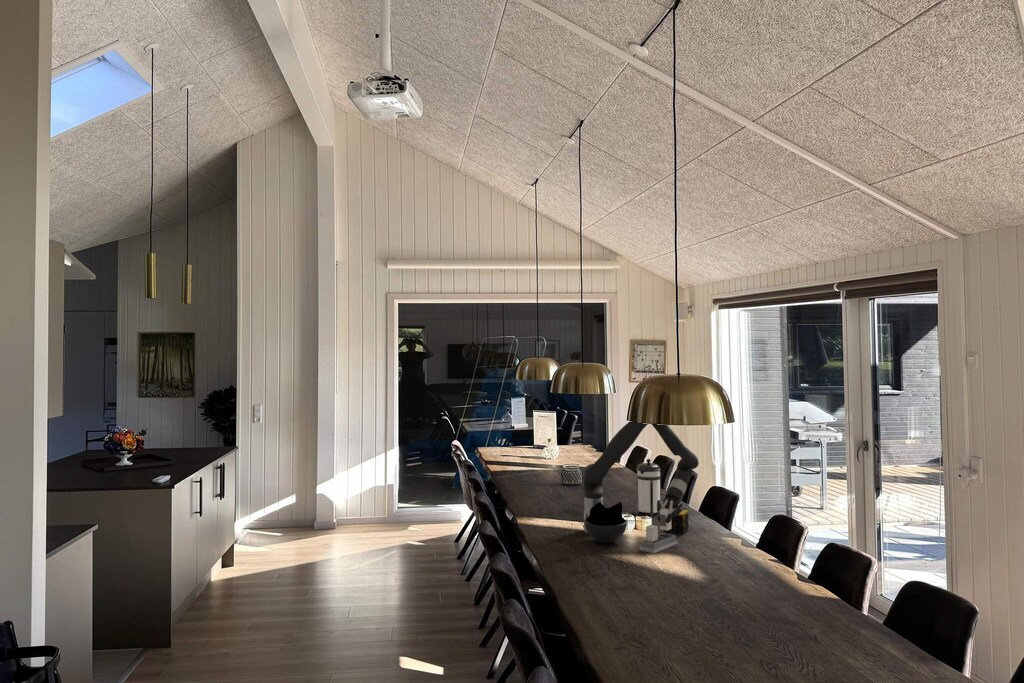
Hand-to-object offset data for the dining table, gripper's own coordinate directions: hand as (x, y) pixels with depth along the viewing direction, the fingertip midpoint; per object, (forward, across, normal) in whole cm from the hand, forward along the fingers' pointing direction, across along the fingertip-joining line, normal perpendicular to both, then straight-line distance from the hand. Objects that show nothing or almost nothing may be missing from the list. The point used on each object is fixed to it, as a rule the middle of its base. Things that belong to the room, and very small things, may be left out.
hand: (663, 521), depth 318 cm
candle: (-10, -9, +26) cm, 30 cm away
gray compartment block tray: (+10, 0, +5) cm, 12 cm away
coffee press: (-27, -39, +43) cm, 64 cm away
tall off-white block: (+1, 0, +4) cm, 5 cm away
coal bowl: (+17, -23, -2) cm, 29 cm away
